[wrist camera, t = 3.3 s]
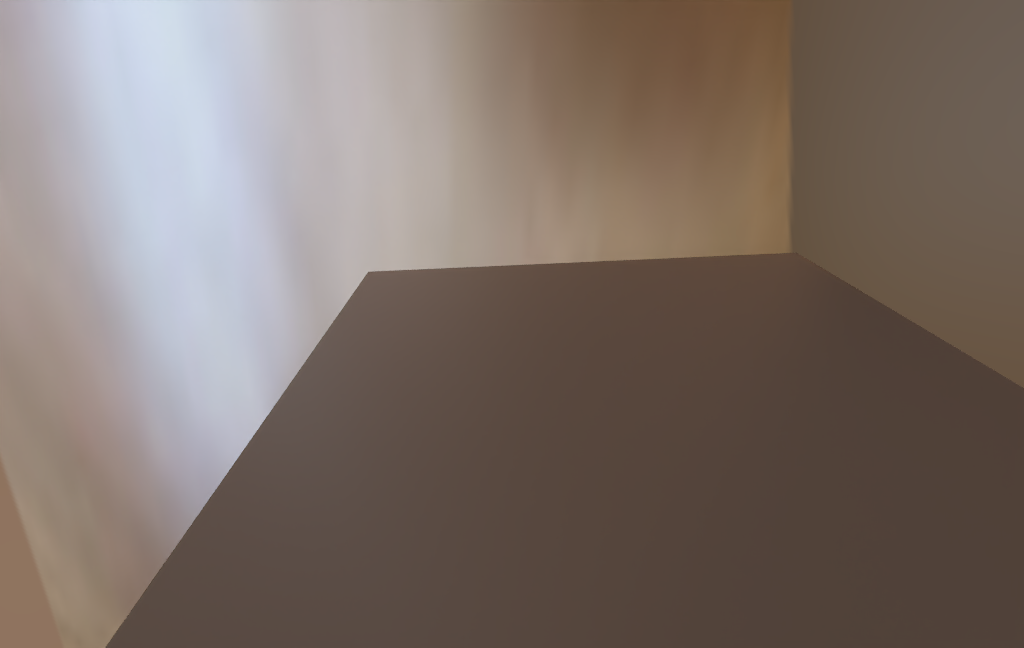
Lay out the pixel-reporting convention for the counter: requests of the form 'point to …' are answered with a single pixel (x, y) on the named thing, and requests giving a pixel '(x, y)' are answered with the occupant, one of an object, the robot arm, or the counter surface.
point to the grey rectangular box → (614, 473)
